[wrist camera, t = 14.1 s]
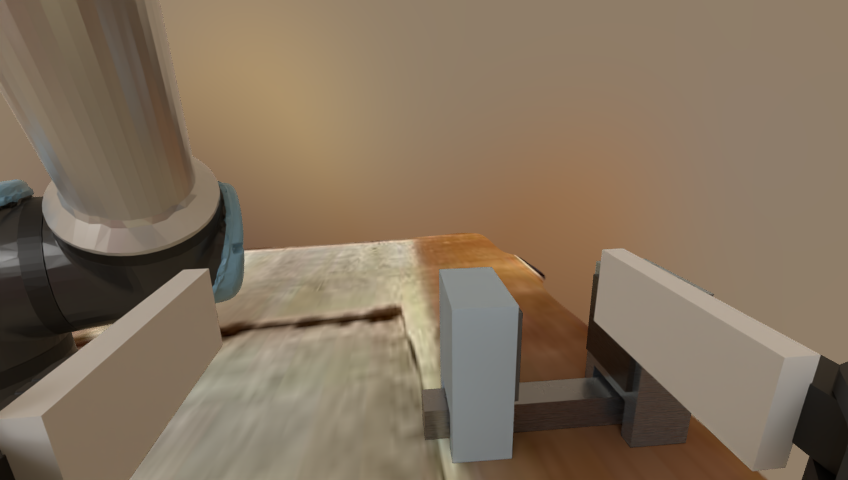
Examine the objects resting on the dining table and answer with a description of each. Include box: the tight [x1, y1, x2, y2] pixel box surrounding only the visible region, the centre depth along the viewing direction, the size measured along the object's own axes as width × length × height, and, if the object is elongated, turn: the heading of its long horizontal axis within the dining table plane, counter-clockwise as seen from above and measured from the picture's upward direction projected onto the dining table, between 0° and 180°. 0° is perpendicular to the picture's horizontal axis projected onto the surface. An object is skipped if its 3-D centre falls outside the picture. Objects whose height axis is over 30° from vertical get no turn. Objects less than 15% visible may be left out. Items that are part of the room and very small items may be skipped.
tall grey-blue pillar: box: [439, 267, 523, 463], centre depth 36 cm, size 9×6×14 cm, turn 4°
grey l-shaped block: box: [422, 259, 714, 448], centre depth 36 cm, size 22×9×14 cm, turn 95°
